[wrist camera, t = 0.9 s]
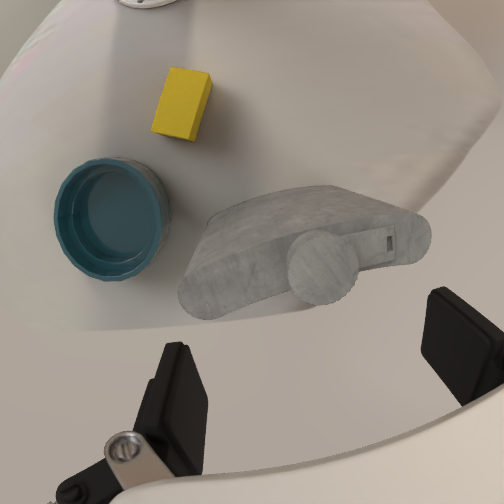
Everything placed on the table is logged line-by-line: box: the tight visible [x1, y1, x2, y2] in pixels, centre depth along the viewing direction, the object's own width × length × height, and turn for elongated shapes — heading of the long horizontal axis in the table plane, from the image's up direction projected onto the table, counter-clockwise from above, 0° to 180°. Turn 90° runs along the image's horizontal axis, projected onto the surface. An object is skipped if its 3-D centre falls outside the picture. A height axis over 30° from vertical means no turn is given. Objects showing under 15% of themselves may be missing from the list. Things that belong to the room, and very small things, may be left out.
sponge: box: [151, 67, 213, 142], centre depth 27 cm, size 7×4×4 cm, turn 164°
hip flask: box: [178, 186, 431, 320], centre depth 23 cm, size 16×4×20 cm, turn 105°
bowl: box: [54, 157, 171, 281], centre depth 30 cm, size 13×13×4 cm
